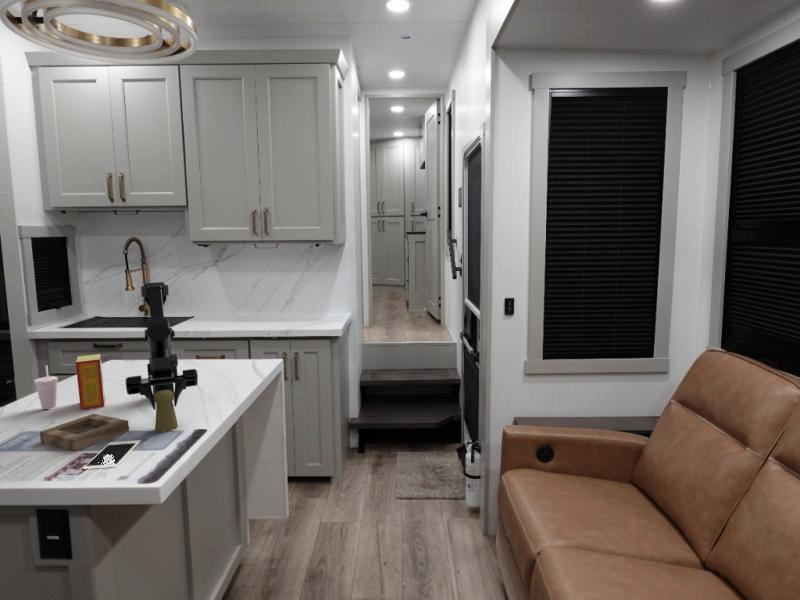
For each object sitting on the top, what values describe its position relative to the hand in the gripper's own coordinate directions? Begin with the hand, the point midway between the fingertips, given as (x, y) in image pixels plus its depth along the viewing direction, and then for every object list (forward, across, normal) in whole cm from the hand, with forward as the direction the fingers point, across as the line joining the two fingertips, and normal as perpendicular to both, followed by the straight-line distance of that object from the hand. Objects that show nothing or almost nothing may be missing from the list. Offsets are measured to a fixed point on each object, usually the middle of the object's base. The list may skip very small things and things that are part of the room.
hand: (165, 407), depth 145 cm
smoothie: (-23, -34, +33) cm, 53 cm away
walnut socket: (+1, -20, +9) cm, 22 cm away
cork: (+4, 0, +6) cm, 7 cm away
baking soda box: (-21, -21, +31) cm, 43 cm away
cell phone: (+13, -13, -3) cm, 19 cm away
